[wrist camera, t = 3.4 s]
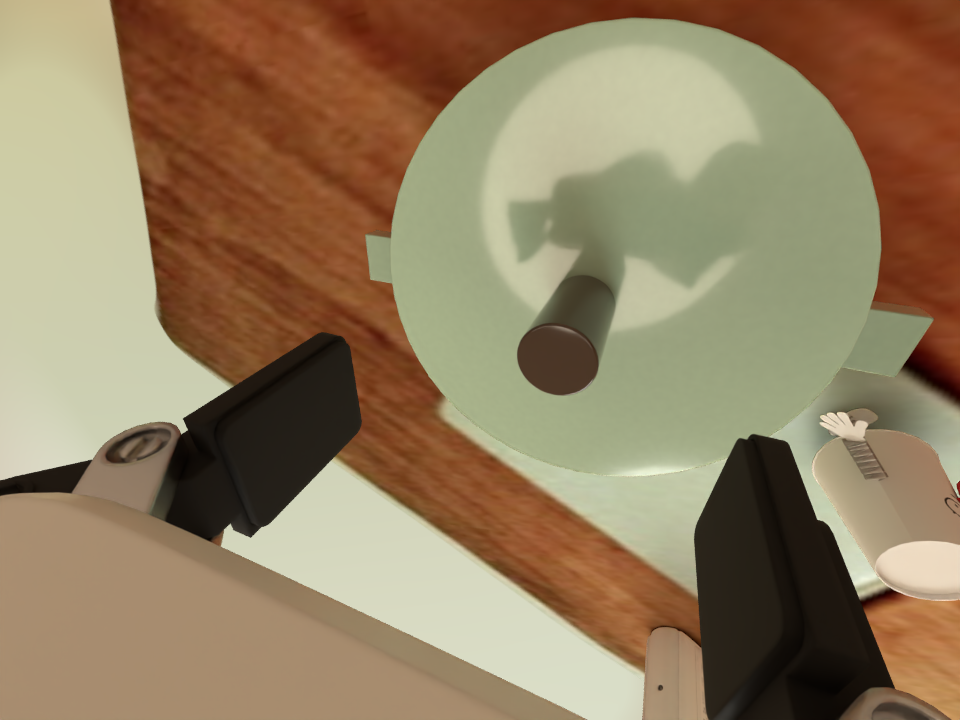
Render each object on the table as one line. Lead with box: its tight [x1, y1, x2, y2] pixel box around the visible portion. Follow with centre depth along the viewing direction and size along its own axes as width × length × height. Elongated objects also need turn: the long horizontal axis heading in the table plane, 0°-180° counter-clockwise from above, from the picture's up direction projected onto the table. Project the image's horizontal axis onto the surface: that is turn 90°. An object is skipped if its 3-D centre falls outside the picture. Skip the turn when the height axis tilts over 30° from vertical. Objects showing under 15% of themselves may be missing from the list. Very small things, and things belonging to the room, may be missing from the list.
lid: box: [390, 17, 882, 477], centre depth 15 cm, size 18×18×6 cm
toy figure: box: [812, 408, 960, 601], centre depth 20 cm, size 12×6×9 cm, turn 42°
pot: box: [365, 230, 934, 377], centre depth 20 cm, size 17×23×8 cm
